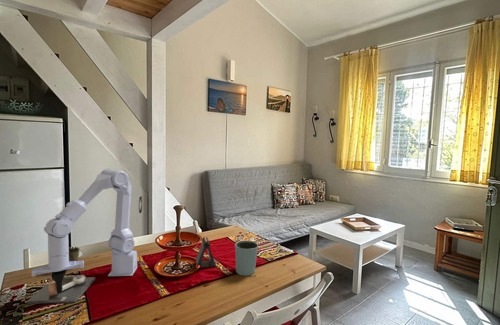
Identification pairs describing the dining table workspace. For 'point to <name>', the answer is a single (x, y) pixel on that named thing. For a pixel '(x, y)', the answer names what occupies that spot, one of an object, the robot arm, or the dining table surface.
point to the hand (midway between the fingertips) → (59, 291)
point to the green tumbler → (246, 257)
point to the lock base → (65, 296)
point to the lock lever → (76, 281)
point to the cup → (73, 254)
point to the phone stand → (200, 255)
